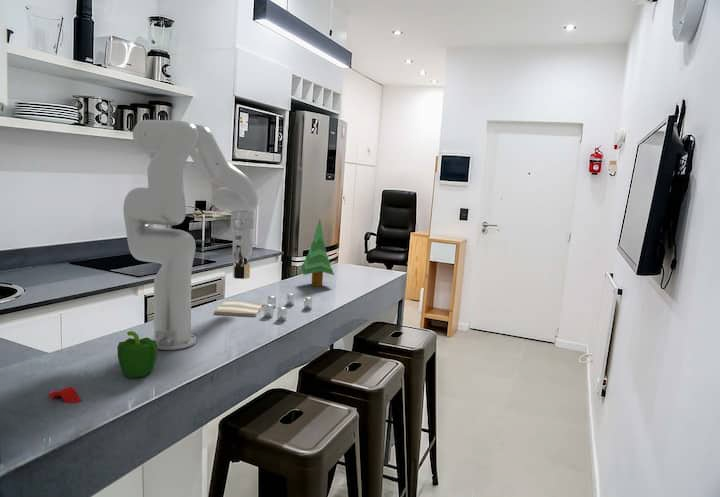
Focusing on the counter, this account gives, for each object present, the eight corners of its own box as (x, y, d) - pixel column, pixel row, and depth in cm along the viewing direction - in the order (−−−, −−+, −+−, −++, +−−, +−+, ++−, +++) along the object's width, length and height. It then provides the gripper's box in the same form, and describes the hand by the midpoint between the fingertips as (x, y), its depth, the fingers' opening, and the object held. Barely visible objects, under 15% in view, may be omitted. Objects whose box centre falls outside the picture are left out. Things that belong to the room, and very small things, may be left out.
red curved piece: (44, 398, 104) (44, 388, 104) (57, 392, 107) (57, 383, 107) (72, 406, 101) (72, 396, 101) (84, 400, 104) (84, 390, 104)
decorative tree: (305, 280, 231) (308, 215, 226) (338, 284, 227) (341, 217, 223) (294, 286, 218) (297, 217, 213) (328, 290, 214) (332, 219, 210)
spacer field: (306, 322, 166) (307, 310, 166) (258, 319, 166) (258, 307, 166) (313, 304, 189) (313, 294, 189) (270, 302, 189) (270, 291, 188)
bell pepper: (163, 374, 118) (163, 333, 117) (128, 384, 112) (127, 341, 111) (146, 364, 124) (146, 325, 122) (112, 372, 118) (111, 331, 116)
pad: (255, 316, 170) (256, 313, 170) (214, 314, 170) (214, 311, 169) (263, 305, 184) (263, 303, 183) (225, 303, 183) (225, 301, 183)
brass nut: (247, 279, 173) (248, 264, 172) (231, 278, 173) (231, 263, 172) (251, 276, 178) (251, 262, 177) (234, 275, 178) (234, 261, 177)
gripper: (247, 227, 164) (246, 282, 167) (258, 222, 181) (256, 272, 184) (224, 226, 164) (223, 281, 167) (237, 221, 181) (236, 271, 183)
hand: (241, 275), depth 175 cm, fingers closed on brass nut, 5 cm apart
